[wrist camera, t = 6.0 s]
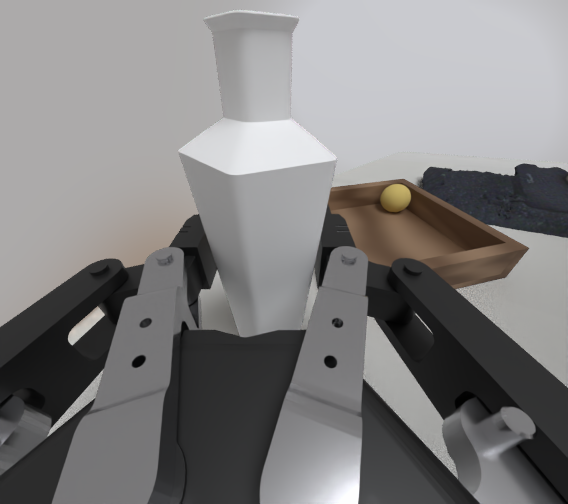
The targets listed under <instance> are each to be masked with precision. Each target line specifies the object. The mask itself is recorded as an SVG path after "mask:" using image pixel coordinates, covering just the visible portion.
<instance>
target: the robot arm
mask: <svg viewBox="0 0 568 504" xmlns="http://www.w3.org/2000/svg"><path fill="white" fill-rule="evenodd" d="M314 267H315V274H316V281H317V288H318V293H317V296H316V300H315V303H314V306H313V310H312V313H311V317H310V320H309V323H308V327H307V330H276V331H272V332H267V333H263V334H259V335H255V336H250V337H240V336H237V335H233V334H229V333H225V332H221V331H217V330H202V320H201V300H200V296H199V293H200V291H201V289H210V288H211V285H212V282H213V280H214V277H215V274H216V271H217V266H216V263H215V260H214V257H213V254H212V251H211V248H210V245H209V242H208V239H207V236H206V233H205V230H204V227H203V224H202V221H201V218H200V215H199V214H198V215H193V216H192V217H191V218H189V219H188V220H187V221H186V222H185V224H184V225H183V228H181V229H180V231H179V233H178V234H177V235H176V237H175V238H174V240H173V242H172V243H171V245H170V246H169V247H168V248H163V249H160V250H157V251H155V252H153V253H152V254H151V255H149V256H148V257H147V259H146V261H145V264H143V265H138V266H133V267H129V268H125V267H124V266H123V264H122V262H121V261H120V260H118V259H104V260H100V261H97V262H95V263H92V264H91V265H89V266H87V267H86V268H84V269H83V270H81V271H80V272H78V273H77V274H76V275H74V276H73V277H72V278H70V279H68V280H67V281H66V282H64V283H63V284H61V285H60V286H58V287H57V288H56V289H54V290H53V291H51V292H50V293H48V294H47V295H46V296H44V297H43V298H41V299H40V300H39V301H37V302H36V303H34V304H33V305H31V306H30V307H29V308H27V309H26V310H24V311H23V312H21V313H20V314H19V315H17V316H16V317H14V318H13V319H12V320H10V321H9V322H7V323H6V324H4V325H3V326H1V327H0V504H568V388H567V387H566V386H565V385H564V384H563V383H562V382H560V381H559V380H558V379H557V378H556V377H555V376H554V375H552V374H551V373H550V372H549V371H548V370H547V369H546V368H544V367H543V366H542V365H541V364H540V363H539V362H538V361H536V360H535V359H534V358H533V357H532V356H531V355H530V354H528V353H527V352H526V351H525V350H524V349H523V348H521V347H520V346H519V345H518V344H517V343H516V342H515V341H513V340H512V339H511V338H510V337H509V336H508V335H507V334H505V333H504V332H503V331H502V330H501V329H500V328H499V327H497V326H496V325H495V324H494V323H493V322H492V321H491V320H489V319H488V318H487V317H486V316H485V315H484V314H483V313H481V312H480V311H479V310H478V309H477V308H476V307H474V306H473V305H472V304H471V303H470V302H469V301H468V300H466V299H465V298H464V297H463V296H462V295H461V294H460V293H458V292H457V291H456V290H455V289H454V288H453V287H452V286H450V285H449V284H448V283H447V282H446V281H445V280H444V279H442V278H441V277H440V276H439V275H438V274H437V273H436V272H434V271H433V270H432V269H431V268H430V267H429V266H427V265H426V264H424V263H423V262H420V261H418V260H415V259H411V258H399V259H396V260H395V261H393V263H392V265H391V267H390V266H386V265H381V264H376V263H373V262H370V261H368V257H367V255H366V254H365V253H364V252H363V251H361V250H359V249H357V248H356V246H355V243H354V241H353V238H352V235H351V233H350V230H349V228H348V225H347V223H346V220H345V219H344V218H343V217H342V216H341V215H340V214H331V211H330V208H329V205H328V204H327V209H326V214H325V218H324V223H323V228H322V233H321V237H320V242H319V247H318V251H317V256H316V261H315V266H314ZM97 306H98V307H99V308H100V309H101V310H102V312H103V313H104V314H105V316H104V317H103V318H101V319H100V320H99V321H98V322H97V323H96V324H95V325H94V326H93V327H92V328H91V329H90V330H89V331H88V332H87V333H85V334H84V335H83V336H82V337H81V338H80V339H79V340H78V341H77V342H76V343H75V344H74V345H73V346H72V345H71V344H70V343H69V342H68V335H69V332H70V331H71V329H72V328H73V327H74V326H75V325H76V324H78V323H79V322H80V321H81V320H82V319H83V318H85V316H87V315H88V314H89V313H90V312H91V311H93V310H94V309H95V308H96V307H97ZM415 313H416V314H417V315H418V316H419V317H420V318H421V319H422V320H423V322H424V323H425V324H426V325H427V326H428V327H429V329H430V330H431V332H432V333H431V332H430V331H429V330H428V329H427V327H426V326H425V325H424V324H423V323H422V322H421V320H420V319H419V318H418V317H417V316H416V315H415ZM367 316H370V317H374V318H375V320H376V322H377V323H378V325H379V326H380V328H381V329H382V331H383V332H384V334H385V335H386V337H387V338H388V339H389V341H390V342H391V344H392V345H393V347H394V348H395V350H396V351H397V353H398V354H399V356H400V357H401V358H402V360H403V361H404V363H405V364H406V366H407V367H408V369H409V370H410V372H411V373H412V375H413V376H414V377H415V379H416V380H417V382H418V383H419V385H420V386H421V388H422V389H423V391H424V392H425V393H426V395H427V396H428V398H429V399H430V401H431V402H432V404H433V405H434V407H435V408H436V410H437V411H438V412H439V414H440V415H441V417H442V418H443V420H444V422H443V425H442V433H443V438H444V442H445V444H446V447H447V451H448V454H449V456H450V457H451V459H452V460H453V461H454V463H455V466H456V470H457V475H458V479H457V478H456V477H455V476H454V475H453V474H452V473H451V472H450V471H449V470H448V468H447V467H446V466H445V465H444V464H443V463H442V462H441V461H440V460H439V459H438V458H437V457H436V456H435V455H434V454H433V452H432V451H431V450H430V449H429V448H428V447H427V446H426V445H425V444H424V443H423V442H422V441H421V440H420V439H419V438H418V437H417V435H416V434H415V433H414V432H413V431H412V430H411V429H410V428H409V427H408V426H407V425H406V424H405V423H404V422H403V421H402V419H401V418H400V417H399V416H398V415H397V414H396V413H395V412H394V411H393V410H392V409H391V408H390V407H389V406H388V405H387V403H386V402H385V401H384V400H383V399H382V398H381V397H380V396H379V395H378V394H377V393H376V392H375V391H374V390H373V389H372V387H371V386H370V385H369V384H368V383H367V382H366V381H365V380H364V379H363V370H364V355H365V340H366V325H367ZM103 369H104V371H103V374H102V378H101V381H100V385H99V388H98V391H97V395H96V398H95V399H94V400H92V401H91V402H90V403H89V404H88V405H86V406H85V407H84V408H83V409H81V410H80V411H79V412H78V413H76V414H75V415H74V416H73V417H72V418H70V419H69V420H68V421H67V422H65V423H64V424H63V425H62V426H61V427H59V428H58V429H57V430H56V431H54V432H53V433H52V434H51V435H49V436H48V434H49V431H50V429H51V428H52V427H53V425H54V424H55V423H56V422H57V421H58V420H59V419H60V417H61V416H62V415H63V414H64V413H65V412H66V411H67V410H68V408H69V407H70V406H71V405H72V404H73V403H74V402H75V401H76V399H77V398H78V397H79V396H80V395H81V394H82V393H83V391H84V390H85V389H86V388H87V387H88V386H89V385H90V384H91V382H92V381H93V380H94V379H95V378H96V377H97V376H98V375H99V373H100V372H101V371H102V370H103Z"/></svg>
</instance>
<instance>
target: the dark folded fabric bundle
mask: <svg viewBox="0 0 568 504" xmlns="http://www.w3.org/2000/svg"><path fill="white" fill-rule="evenodd" d="M422 183H423V190H425V191H427V192H428V193H430V194H432V195H434V196H436V197H437V198H439V199H441V200H443V201H445V202H446V203H448V204H450V205H452V206H454V207H456V208H457V209H459V210H461V211H463V212H465V213H466V214H468V215H470V216H472V217H474V218H475V219H477V220H479V221H481V222H483V223H485V224H487V225H495V226H499V227H505V228H511V229H516V230H523V231H528V232H535V233H543V234H547V235H555V236H560V237H566V238H568V172H567V171H565V170H563V169H561V168H558V167H553V168H539V167H537V166H536V165H531V164H520V165H518V166H516V167H515V176H509V175H504V176H503V175H501V174H494V173H491V172H484V173H482V172H478V171H461V170H459V171H452V169H448V168H436V167H429V168H428V169H427V170H426V171H425V172H424V174H423V180H422Z"/></svg>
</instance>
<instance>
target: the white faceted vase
mask: <svg viewBox="0 0 568 504" xmlns="http://www.w3.org/2000/svg"><path fill="white" fill-rule="evenodd" d="M298 21H299V17H297V16H294V15H286V14H277V13H267V12H258V11H248V10H234V11H228V12H225V13H221V14H217V15H213V16H209V17H206V18H204V22H205V24H206V25H207V26H208V28H209V29H210V30H211V32H212V34H213V41H214V49H215V56H216V64H217V71H218V78H219V86H220V93H221V101H222V108H223V116H224V117H223V118H222V119H220V120H219V121H217V122H216V123H215V124H213V125H212V126H211V127H209V128H208V129H206V130H205V131H204V132H202V133H201V134H200V135H198V136H197V137H195V138H194V139H193V140H191V141H190V142H189V143H187V144H186V145H184V146H183V147H182V148H180V149H179V150H178V152H179V155H180V158H181V161H182V164H183V167H184V170H185V173H186V176H187V179H188V182H189V185H190V188H191V191H192V194H193V197H194V200H195V203H196V206H197V209H198V212H199V215H200V218H201V221H202V224H203V227H204V230H205V233H206V236H207V239H208V242H209V245H210V248H211V251H212V254H213V257H214V260H215V263H216V266H217V269H218V272H219V275H220V278H221V281H222V284H223V287H224V290H225V293H226V296H227V299H228V302H229V305H230V308H231V311H232V315H233V318H234V321H235V324H236V327H237V330H238V333H239V336H240V337H250V336H255V335H259V334H263V333H267V332H272V331H276V330H301V327H302V322H303V317H304V313H305V308H306V303H307V298H308V294H309V289H310V284H311V280H312V275H313V270H314V266H315V261H316V256H317V251H318V247H319V242H320V237H321V233H322V228H323V223H324V218H325V214H326V209H327V204H328V200H329V195H330V190H331V186H332V181H333V176H334V171H335V167H336V162H337V157H336V156H335V155H334V154H333V153H332V152H331V151H329V150H328V149H327V148H326V147H325V146H324V145H323V144H322V143H321V142H320V141H319V140H317V139H316V138H315V137H314V136H313V135H311V134H310V133H309V132H308V131H307V130H305V129H304V128H303V127H302V126H300V125H299V124H298V123H297V122H295V121H294V120H293V119H291V72H292V33H293V31H294V29H295V27H296V26H297V24H298Z"/></svg>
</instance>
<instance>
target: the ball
mask: <svg viewBox="0 0 568 504" xmlns="http://www.w3.org/2000/svg"><path fill="white" fill-rule="evenodd" d="M410 200H411V193H410V191H409V189H408V188H407V187H406V186H404V185H401V184H393V185H390V186H388V187H387V188H386V189H385V190H384V191H383V192H382V194H381V198H380V201H381V205H382V206H383V208H384V209H386V210H387V211H390V212H399V211H402V210H403V209H405V208H406V207H407V206H408V204H409V203H410Z"/></svg>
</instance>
